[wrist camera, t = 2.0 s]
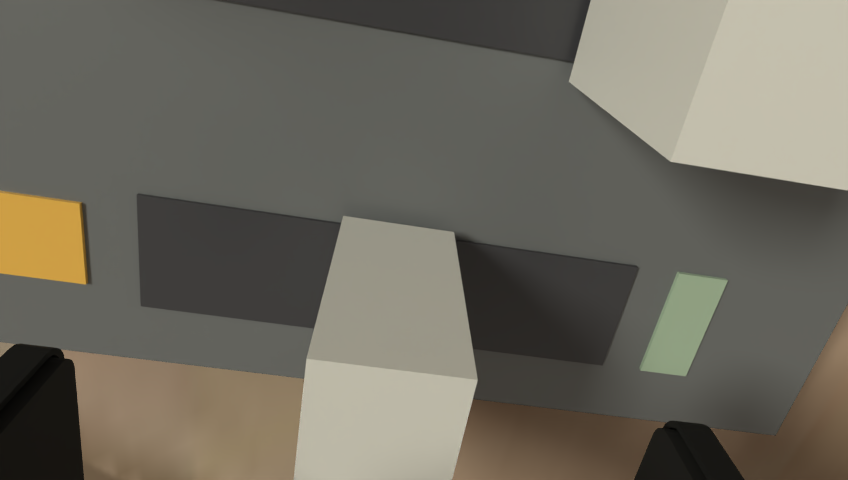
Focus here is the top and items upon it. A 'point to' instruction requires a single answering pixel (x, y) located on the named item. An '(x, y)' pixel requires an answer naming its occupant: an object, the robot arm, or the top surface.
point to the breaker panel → (392, 202)
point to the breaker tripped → (387, 359)
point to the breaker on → (726, 82)
